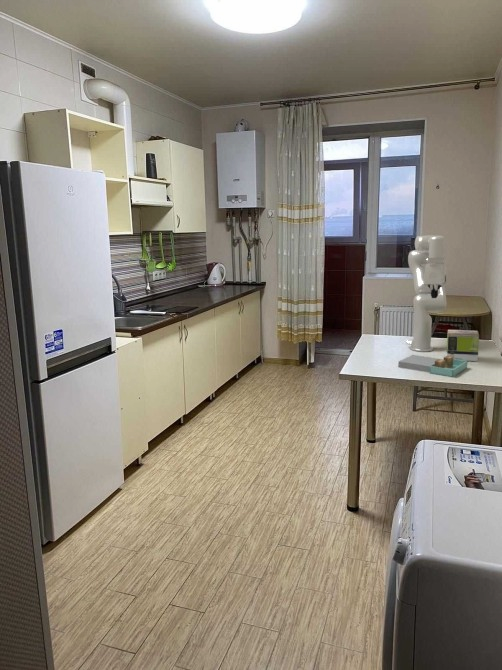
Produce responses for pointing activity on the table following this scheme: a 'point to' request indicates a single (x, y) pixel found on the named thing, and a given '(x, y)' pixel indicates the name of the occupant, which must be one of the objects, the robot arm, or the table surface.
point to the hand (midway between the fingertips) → (434, 297)
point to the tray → (450, 369)
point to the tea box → (463, 344)
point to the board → (417, 363)
